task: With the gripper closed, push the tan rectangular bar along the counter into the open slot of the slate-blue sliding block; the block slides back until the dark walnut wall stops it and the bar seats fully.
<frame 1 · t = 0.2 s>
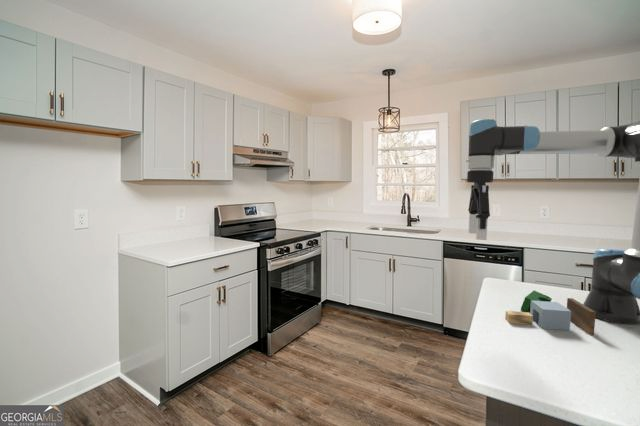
hand: (476, 236, 108), 27 cm above the countertop, fingers open, 13 cm apart
tan rectangular bar: (518, 322, 109), on the countertop
clamp: (535, 312, 118), on the countertop
wall: (579, 326, 106), on the countertop
block: (549, 314, 107), point 3 cm above the countertop, slide at 0.0 cm
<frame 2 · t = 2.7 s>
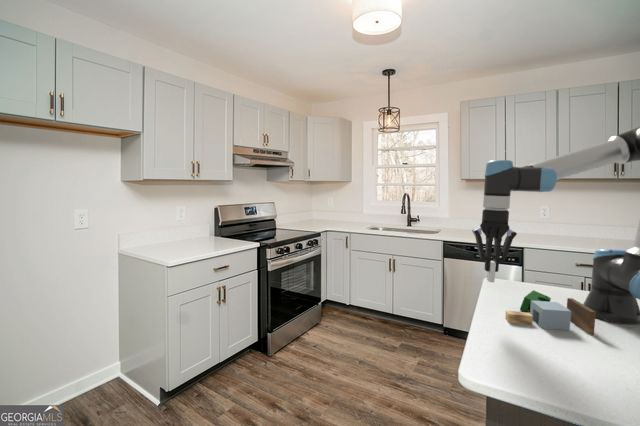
hand: (490, 281, 109), 13 cm above the countertop, fingers closed
nothing on the countertop moved.
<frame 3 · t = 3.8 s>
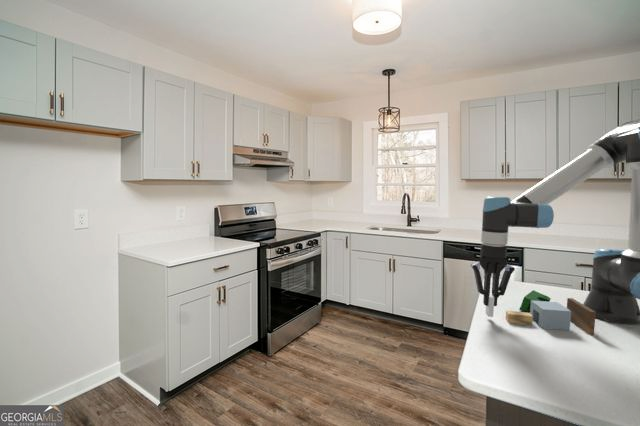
hand: (489, 315, 110), 1 cm above the countertop, fingers closed
nothing on the countertop moved.
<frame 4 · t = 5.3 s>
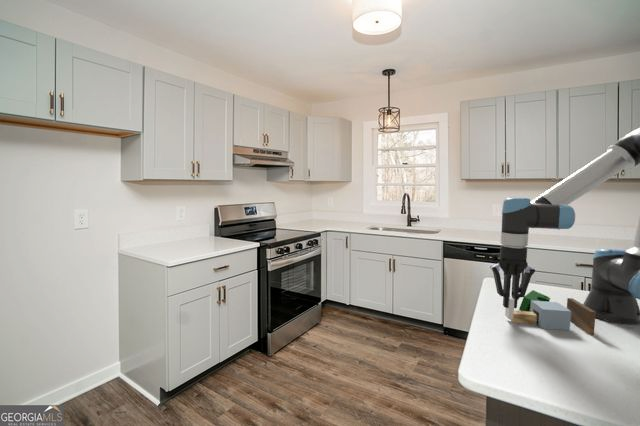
hand: (509, 317, 109), 1 cm above the countertop, fingers closed
tan rectangular bar: (522, 321, 109), on the countertop
everything else where it was.
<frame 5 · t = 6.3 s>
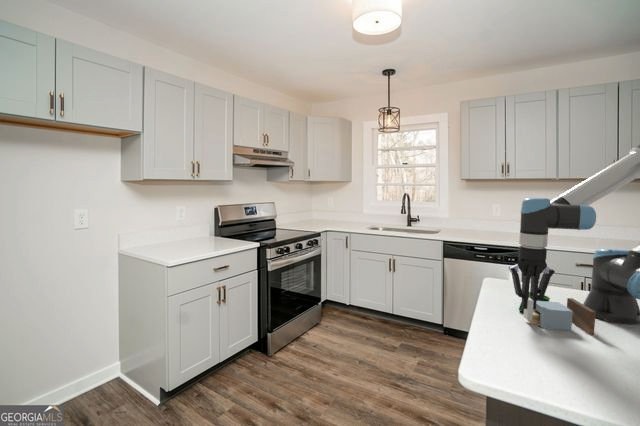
hand: (527, 318, 108), 1 cm above the countertop, fingers closed
tan rectangular bar: (541, 322, 108), on the countertop, touching gripper
block: (550, 314, 107), point 3 cm above the countertop, slide at 0.4 cm
everything else where it was.
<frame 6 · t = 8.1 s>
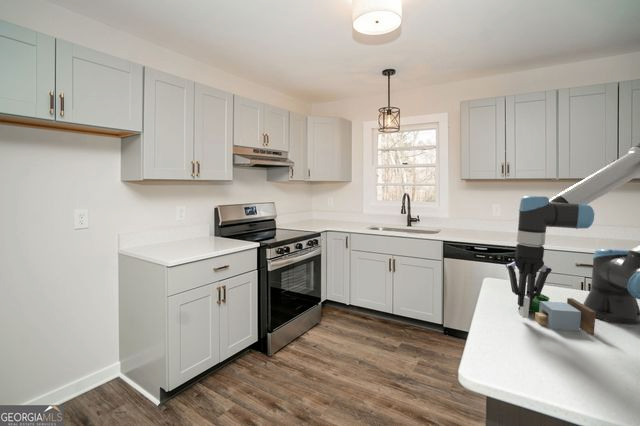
hand: (523, 316, 109), 2 cm above the countertop, fingers closed
tan rectangular bar: (548, 324, 108), on the countertop
block: (558, 315, 107), point 3 cm above the countertop, slide at 2.7 cm
everything else where it was.
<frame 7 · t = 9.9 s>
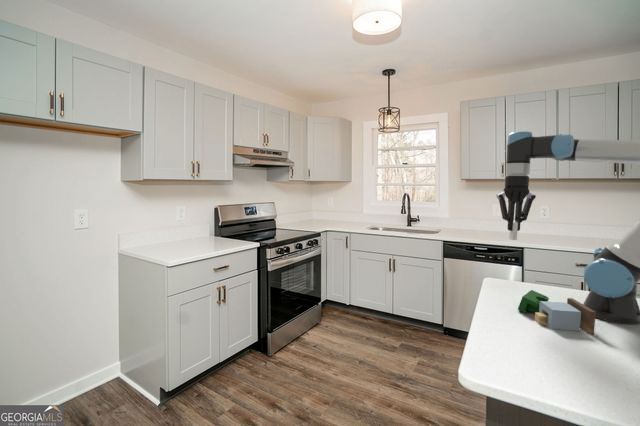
hand: (513, 239, 124), 24 cm above the countertop, fingers closed
nothing on the countertop moved.
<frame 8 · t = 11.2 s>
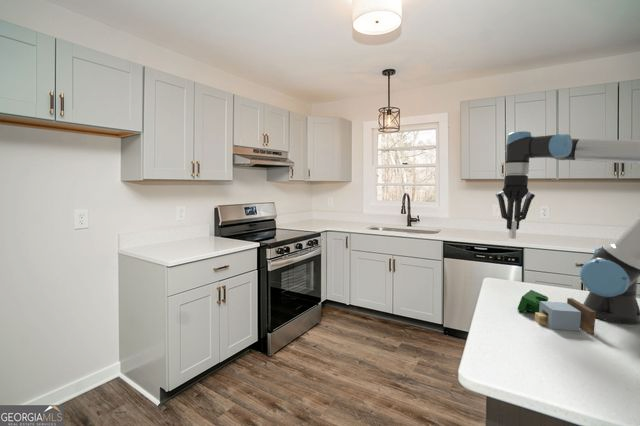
hand: (512, 238, 126), 24 cm above the countertop, fingers closed
nothing on the countertop moved.
at the end: tan rectangular bar 0.6 cm from the target spot on the block, point 0.0 cm above the block's base; block slide at 2.7 cm; tan rectangular bar tilted 0° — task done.
